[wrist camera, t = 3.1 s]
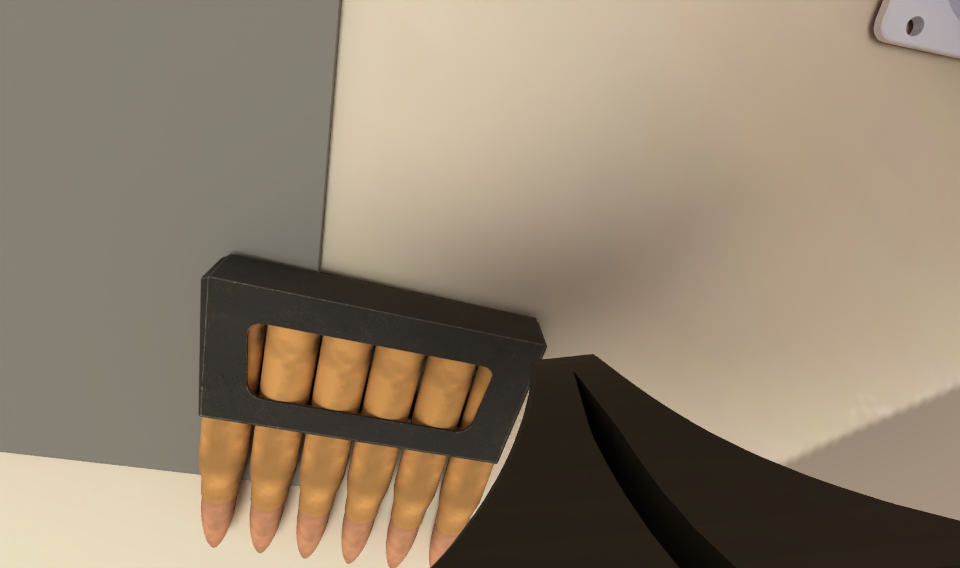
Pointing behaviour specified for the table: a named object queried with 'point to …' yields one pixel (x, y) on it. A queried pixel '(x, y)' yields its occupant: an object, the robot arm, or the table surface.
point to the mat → (146, 204)
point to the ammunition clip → (351, 402)
